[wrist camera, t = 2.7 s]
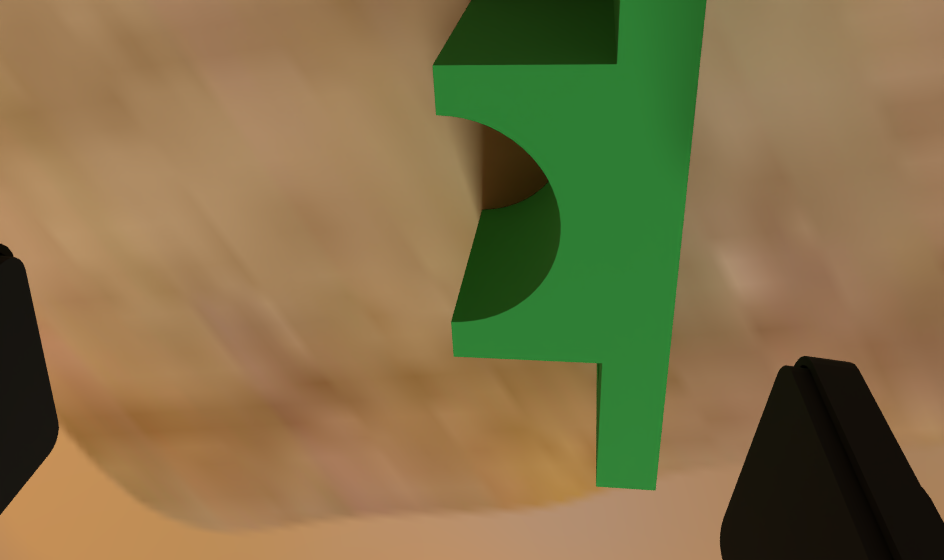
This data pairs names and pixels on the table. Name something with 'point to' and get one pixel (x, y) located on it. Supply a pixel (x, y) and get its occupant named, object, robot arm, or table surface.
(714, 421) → the table surface
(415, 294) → the table surface
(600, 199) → the pipe clamp
